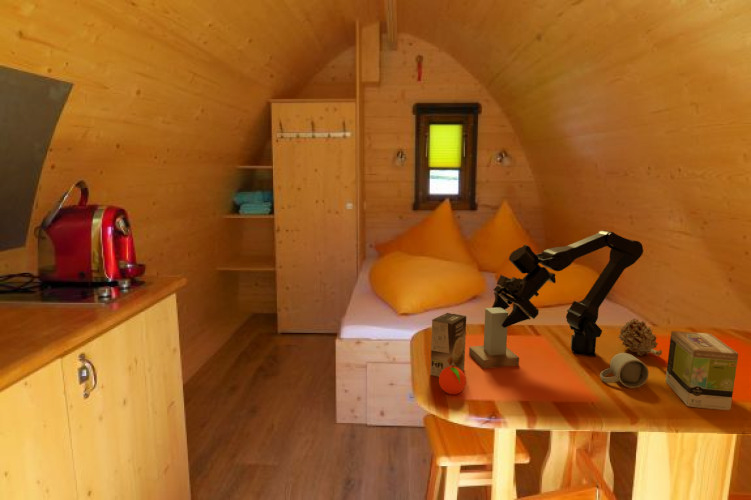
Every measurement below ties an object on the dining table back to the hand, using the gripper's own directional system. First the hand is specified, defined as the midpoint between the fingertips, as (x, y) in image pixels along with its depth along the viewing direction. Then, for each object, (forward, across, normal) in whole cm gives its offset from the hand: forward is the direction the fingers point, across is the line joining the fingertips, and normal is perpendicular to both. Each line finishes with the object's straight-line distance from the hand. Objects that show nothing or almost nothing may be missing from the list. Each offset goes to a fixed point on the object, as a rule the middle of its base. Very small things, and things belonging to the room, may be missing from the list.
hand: (495, 321), depth 149 cm
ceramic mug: (-10, +22, +28) cm, 37 cm away
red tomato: (+23, +19, -6) cm, 30 cm away
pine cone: (-23, +7, +41) cm, 48 cm away
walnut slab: (+9, 0, +8) cm, 12 cm away
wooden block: (+7, 0, +6) cm, 9 cm away
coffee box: (+20, +6, -4) cm, 22 cm away
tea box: (-20, +32, +37) cm, 53 cm away
